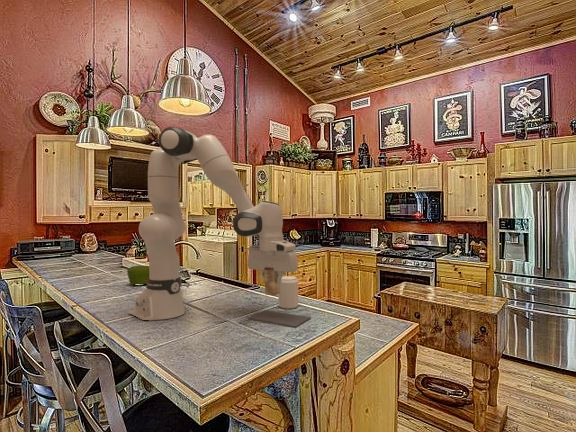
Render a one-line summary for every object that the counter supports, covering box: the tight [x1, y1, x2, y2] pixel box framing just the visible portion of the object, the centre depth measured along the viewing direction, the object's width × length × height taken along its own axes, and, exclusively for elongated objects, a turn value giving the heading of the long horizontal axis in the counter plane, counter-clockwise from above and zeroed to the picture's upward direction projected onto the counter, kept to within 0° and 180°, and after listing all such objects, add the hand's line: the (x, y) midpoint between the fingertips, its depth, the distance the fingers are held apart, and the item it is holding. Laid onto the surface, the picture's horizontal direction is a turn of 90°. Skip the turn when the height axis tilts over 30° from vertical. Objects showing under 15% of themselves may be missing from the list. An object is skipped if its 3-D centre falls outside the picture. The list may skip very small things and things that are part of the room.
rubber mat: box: [247, 309, 311, 329], centre depth 123 cm, size 20×11×1 cm, turn 59°
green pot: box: [126, 265, 149, 285], centre depth 188 cm, size 12×12×11 cm
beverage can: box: [277, 275, 299, 310], centre depth 139 cm, size 8×8×12 cm
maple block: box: [264, 267, 280, 297], centre depth 124 cm, size 4×4×10 cm
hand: (272, 282), depth 124 cm, fingers closed on maple block, 4 cm apart
